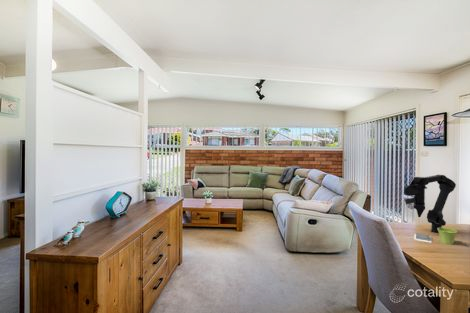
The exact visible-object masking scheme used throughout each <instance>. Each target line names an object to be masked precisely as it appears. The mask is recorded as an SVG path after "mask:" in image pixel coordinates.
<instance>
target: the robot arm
mask: <svg viewBox="0 0 470 313" xmlns="http://www.w3.org/2000/svg"><path fill="white" fill-rule="evenodd" d="M431 183H437V184H438V186H439V187H438V188H439V194H438V196H437V199H436V201H435V203H434V206H433V208H432V209H429V210H427V213H426V219H427V222H428V223H430V224H431V227H430V228H431V229H430V233H435V234H439V232H438V230H437V228H443V226H446V224H447V222H446V220H444V213H443V210H444V207H445V205H446V203H447V200H448V197H449V194H450V193H452V192H454V190H455V188H456V187H457V184H456V183H455V181H453V179H451V178H449V177H447V176H446V175H445V174H436V175H429V176H425V177H424V176H414V177H413V179H412V180H411V182H410V183H409V185H406V187H405V188H404V190H403V193H404V194H405V195H406V196H413V197H408V198H405V199H404V202H405V204H406V205H409V204H413V209H415V210H416V213H417V218H421V216H422V215H423V213H424V211H425V210H426V202H425V200H426V195H425V193H426V192H425V190H426V189H428V187H427V185H429V184H431Z"/></svg>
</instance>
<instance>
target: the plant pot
mask: <svg viewBox="0 0 470 313" xmlns="http://www.w3.org/2000/svg"><path fill="white" fill-rule="evenodd" d="M437 230H438V232H439V233H438V236H439V242H440V243H441V244H444V245H451V246H452V245H454V243H455V242H454V241H455V238H456V234H457V233H458V231H457V230H455V229H452V228H447V227H442V228H437Z"/></svg>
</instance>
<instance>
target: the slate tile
mask: <svg viewBox="0 0 470 313" xmlns="http://www.w3.org/2000/svg"><path fill="white" fill-rule="evenodd" d="M415 234H416V239H421V240H427V241H430V238H429V236H430V234H426V233H425V234H424V233H419V232H415Z"/></svg>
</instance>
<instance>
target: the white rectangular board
mask: <svg viewBox="0 0 470 313" xmlns="http://www.w3.org/2000/svg"><path fill="white" fill-rule="evenodd" d="M413 234H414V235H413V240H414V241H419V242H426V243H430V244H431V243H432V236H430V235H429V238H430V241H427V240H421V239H416V233H413Z"/></svg>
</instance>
